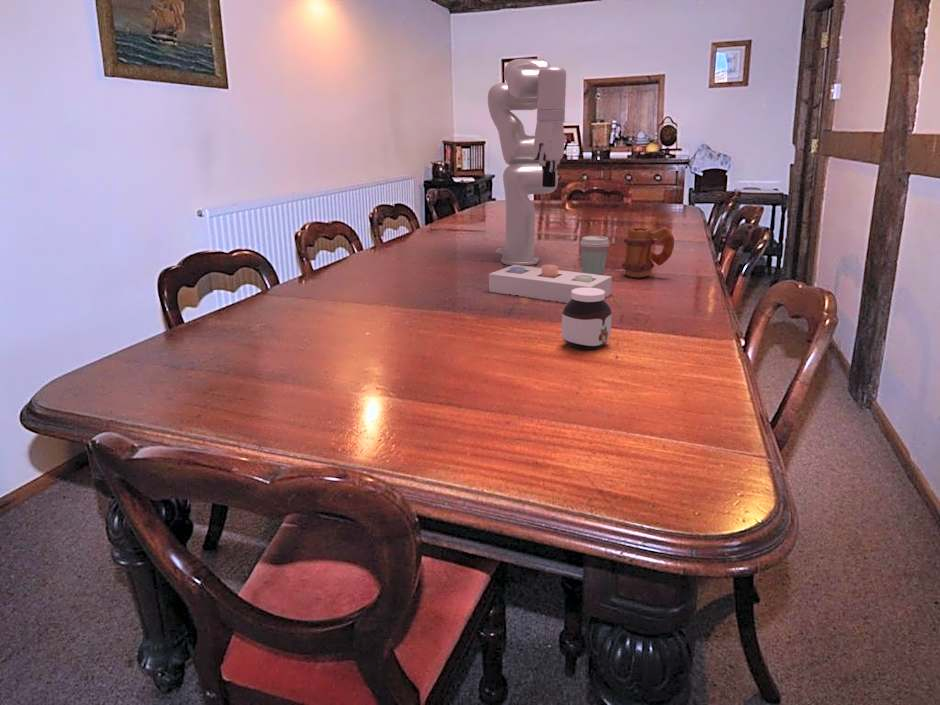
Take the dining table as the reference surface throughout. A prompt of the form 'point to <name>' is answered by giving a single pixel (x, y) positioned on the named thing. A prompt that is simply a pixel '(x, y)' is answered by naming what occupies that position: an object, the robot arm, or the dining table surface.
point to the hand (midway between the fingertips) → (548, 186)
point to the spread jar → (586, 319)
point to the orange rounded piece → (549, 271)
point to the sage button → (583, 278)
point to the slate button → (517, 270)
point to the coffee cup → (594, 254)
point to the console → (544, 283)
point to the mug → (646, 250)
